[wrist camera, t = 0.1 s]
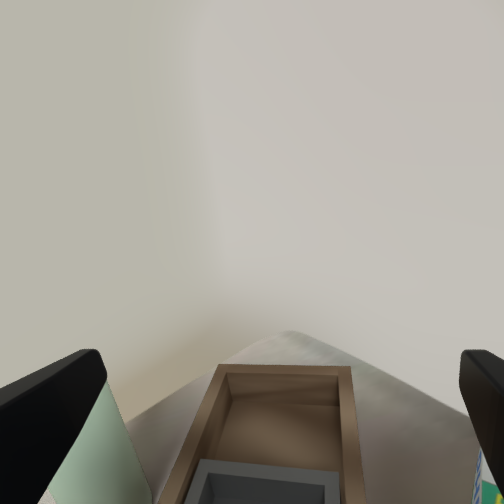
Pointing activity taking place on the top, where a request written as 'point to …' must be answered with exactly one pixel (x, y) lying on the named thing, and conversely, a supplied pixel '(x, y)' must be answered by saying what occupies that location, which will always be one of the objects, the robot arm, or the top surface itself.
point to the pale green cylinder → (101, 462)
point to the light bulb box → (485, 484)
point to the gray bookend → (261, 484)
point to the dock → (275, 425)
